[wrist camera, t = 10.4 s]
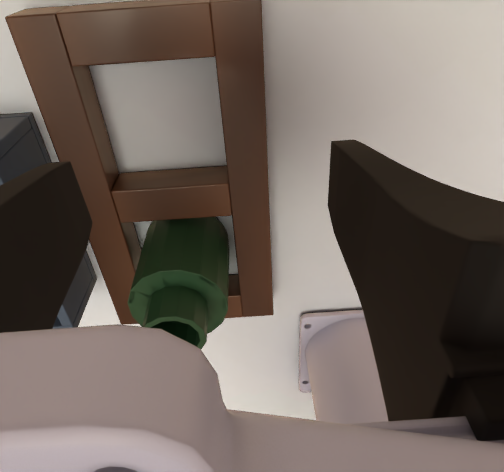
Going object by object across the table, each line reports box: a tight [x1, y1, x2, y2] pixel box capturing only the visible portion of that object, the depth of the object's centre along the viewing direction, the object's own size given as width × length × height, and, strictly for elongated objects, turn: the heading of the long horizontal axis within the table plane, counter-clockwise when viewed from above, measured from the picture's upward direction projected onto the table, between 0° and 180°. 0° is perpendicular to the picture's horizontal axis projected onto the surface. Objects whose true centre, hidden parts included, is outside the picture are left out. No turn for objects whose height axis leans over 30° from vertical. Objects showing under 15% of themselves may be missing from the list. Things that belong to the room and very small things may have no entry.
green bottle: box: [127, 217, 229, 349], centre depth 22 cm, size 5×5×8 cm
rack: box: [5, 0, 273, 325], centre depth 22 cm, size 10×18×2 cm, turn 3°
